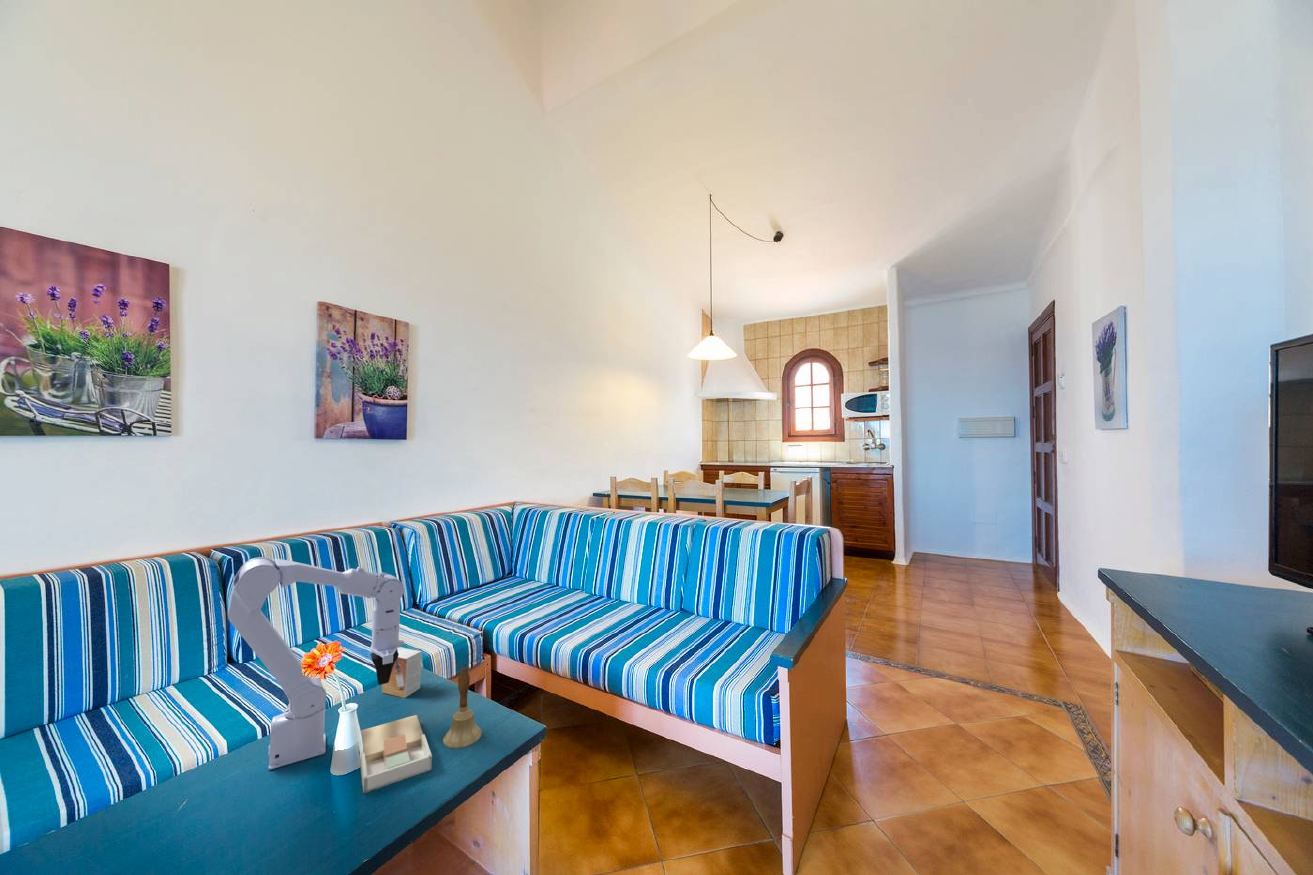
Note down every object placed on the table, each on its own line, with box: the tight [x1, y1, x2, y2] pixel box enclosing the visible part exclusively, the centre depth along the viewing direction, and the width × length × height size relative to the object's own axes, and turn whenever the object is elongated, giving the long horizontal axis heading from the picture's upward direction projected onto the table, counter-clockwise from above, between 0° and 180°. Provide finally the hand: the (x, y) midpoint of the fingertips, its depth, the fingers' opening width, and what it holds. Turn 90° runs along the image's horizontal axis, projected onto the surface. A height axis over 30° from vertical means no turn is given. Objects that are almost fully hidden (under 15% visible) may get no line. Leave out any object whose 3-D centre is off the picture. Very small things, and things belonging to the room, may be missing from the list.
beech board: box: [360, 714, 424, 763], centre depth 103 cm, size 12×11×2 cm
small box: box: [381, 646, 423, 699], centre depth 126 cm, size 8×6×10 cm
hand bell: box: [442, 666, 483, 749], centre depth 106 cm, size 8×8×16 cm
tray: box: [360, 733, 433, 794], centre depth 95 cm, size 12×9×3 cm
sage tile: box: [385, 750, 410, 770], centre depth 94 cm, size 4×4×2 cm
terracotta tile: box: [383, 734, 407, 765], centre depth 97 cm, size 4×4×2 cm
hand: (383, 682), depth 111 cm, fingers closed
